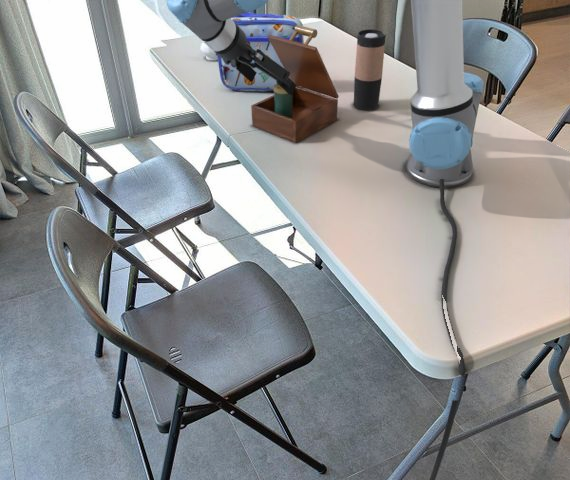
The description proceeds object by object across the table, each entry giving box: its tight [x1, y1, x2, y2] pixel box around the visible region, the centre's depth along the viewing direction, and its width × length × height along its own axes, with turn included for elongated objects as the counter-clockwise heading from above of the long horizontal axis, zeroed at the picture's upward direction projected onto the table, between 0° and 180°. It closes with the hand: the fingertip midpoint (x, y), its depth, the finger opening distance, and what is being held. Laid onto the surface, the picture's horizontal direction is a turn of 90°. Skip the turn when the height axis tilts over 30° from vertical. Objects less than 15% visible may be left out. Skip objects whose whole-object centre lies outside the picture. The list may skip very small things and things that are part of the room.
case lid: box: [268, 25, 340, 99], centre depth 144 cm, size 19×16×7 cm
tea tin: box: [273, 83, 293, 119], centre depth 144 cm, size 5×5×11 cm
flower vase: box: [199, 41, 218, 62], centre depth 182 cm, size 13×18×25 cm
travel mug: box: [353, 28, 386, 112], centre depth 152 cm, size 8×8×20 cm
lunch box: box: [215, 12, 305, 92], centre depth 163 cm, size 28×10×22 cm, turn 84°
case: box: [250, 86, 339, 144], centre depth 149 cm, size 18×16×6 cm
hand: (272, 83), depth 137 cm, fingers open, 13 cm apart
